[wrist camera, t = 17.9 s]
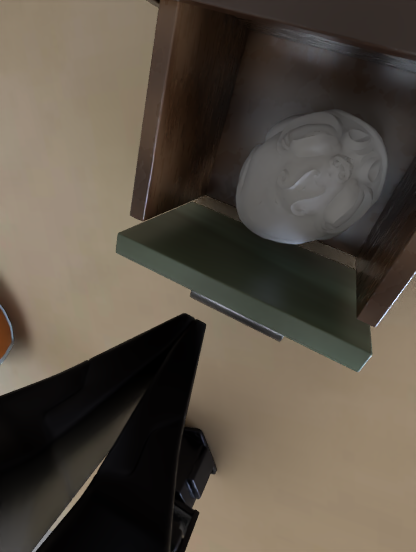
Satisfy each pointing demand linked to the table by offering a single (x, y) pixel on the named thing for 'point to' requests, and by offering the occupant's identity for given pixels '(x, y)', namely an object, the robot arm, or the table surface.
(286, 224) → the white carved sculpture
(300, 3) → the cabinet
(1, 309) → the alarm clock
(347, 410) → the table surface
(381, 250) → the drawer
